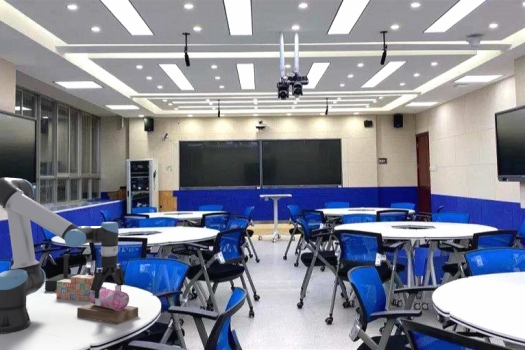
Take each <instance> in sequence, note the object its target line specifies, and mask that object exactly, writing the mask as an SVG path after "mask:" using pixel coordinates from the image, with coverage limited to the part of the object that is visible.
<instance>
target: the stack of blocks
mask: <svg viewBox="0 0 525 350" xmlns="http://www.w3.org/2000/svg"><path fill="white" fill-rule="evenodd" d="M94 276H95V275H89V274H88V275H86V274H84V275H76V276H73V277H71V280H69V279H64V280H60V281H57V291H56V297H55V298H56V299H62V300H70V301H71V300H72V301H82V302H90V300H89V296H88V294H89V292H91V291H92V290H91V287H92V283H93V280H94Z"/></svg>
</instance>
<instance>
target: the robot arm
mask: <svg viewBox="0 0 525 350" xmlns="http://www.w3.org/2000/svg"><path fill="white" fill-rule="evenodd" d="M34 195H35V188H34V186H33V184H32V183H31V182H30V181H28V180H27V179H23V178H20V177H19V178H18V177H17V178H15V177H0V206H1V207H2V210H4V211H5V212H6V214H7V221H8V222H7V223H8V230H9V236H10V243H11V244H10V245H11V251H12V258H13V263H12V265H11V266H10V269H9V270H5V271H2V272H0V334H8V333H14V332H18V331H22V330H24V329H27V328H28V327H30V325H31V318H30V315H29V312H28V309H27V297H28V296H29V295H31V294H34V293H36V292H38V291H39V290H40V289H41V288H42V287H43V286H45V281H46V280H47V276H46V272H45V271H44V269H42V267H41V264H40V261H38V260H37V259H36V254H35V247H34V240H33V239H34V238H33V233H32V225H31V224H32V223H31V222H33V223H35V224H37V225H38V226H40V227H42V228H43V229H45V230H47V231H49V232H50V233H52V234H54V235H56V236H57V237H59V238H60V239H62V240H63V241H64V243H65V244H66V245H67V246H68V247H70V248H77V247H78V248H79V247H81V246H82V245H86V244H89V243H100V255H101V256H100V264H101V267H100V268H99V267H96V268H95V271H94V272H95V273H94V275H93V276H94V280H93V283H92V287H91V290H93V291H95V305H97V306H101V291H100V289H101V287H103V285H104V283H105V280H106V278H108V276H110V275H111V276H112V278H113V281H114V282H115V284H116V285H115V286H114V291H122V286H124V284H125V282H126V280H125V277H124V272H123V270H122V269H123V267H122V266H123V265H122V264H121V263H118V261H119V256H118V253H119V223H118V222H116V221H103V222H101V225H100V226H86V225H80V226H78V225H76V224H74V223H72V222H71V221H69V220H67V219H65V218H64V217H62V216H61V215H59V214H57V213H56V212H54V211H52V210H50V209H49V208H47V207H46V206H43V205H42V204H41V203H39V202H37V201H36V200H33V197H34Z"/></svg>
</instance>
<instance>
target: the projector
mask: <svg viewBox="0 0 525 350" xmlns="http://www.w3.org/2000/svg"><path fill="white" fill-rule="evenodd" d="M62 258H63V273H61V274H58V275H56V276H53V277H51V278H48V279H45V283H44V286H45V287H44V291H46V292H57V281H60V280H64V279H69V280H71V277H73V276H76V275H85V274H83V273H77V274H76V273H75V274H74V273H69V258H70V254H68V253H65V254H63V255H62Z"/></svg>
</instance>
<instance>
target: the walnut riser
mask: <svg viewBox="0 0 525 350" xmlns="http://www.w3.org/2000/svg"><path fill="white" fill-rule="evenodd" d="M76 309H77V310H76V312H77V313H76V317H79V318H84V319H89V320H95V321H99V322H103V323H109V324H113V325H119V324H122V323H123V322H124V323H125V322H127V321H129V320H132V319H135V318H136V317H139V307H137V306H132V305H127V306H126V307H125V308H124V309H123V310H121V311H115V310H114V309H110V308H104V307H101V306H97V305H95V304H93V303H91V302H90V303H88V304H85V305H82V306H79V307H76Z"/></svg>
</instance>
